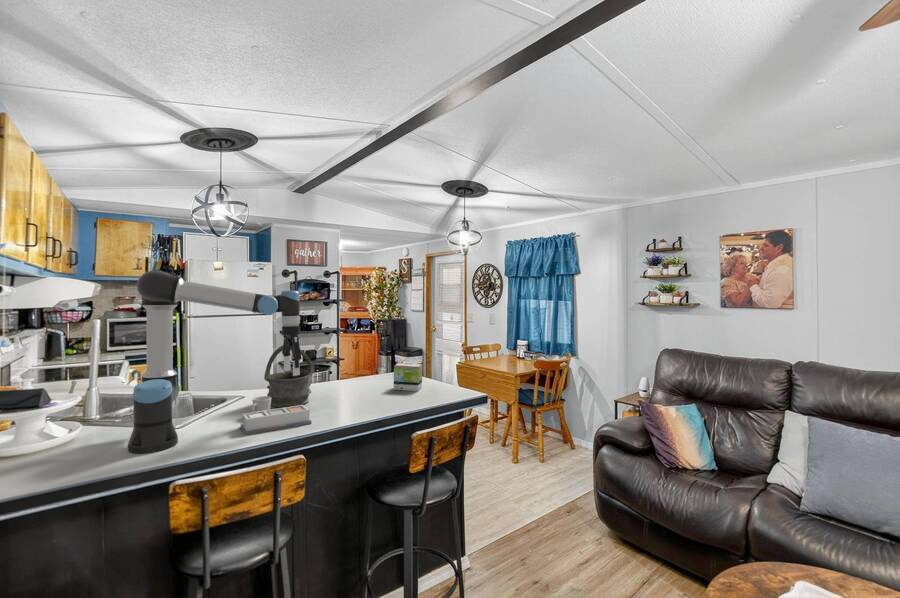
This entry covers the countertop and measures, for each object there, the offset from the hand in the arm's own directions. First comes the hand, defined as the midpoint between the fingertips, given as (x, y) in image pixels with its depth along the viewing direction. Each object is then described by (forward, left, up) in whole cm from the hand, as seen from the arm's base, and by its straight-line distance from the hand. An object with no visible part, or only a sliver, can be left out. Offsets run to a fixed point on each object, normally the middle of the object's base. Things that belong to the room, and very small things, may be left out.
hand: (291, 372), depth 190 cm
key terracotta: (0, -5, -17) cm, 18 cm away
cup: (-11, +13, -21) cm, 27 cm away
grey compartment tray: (-8, -5, -21) cm, 23 cm away
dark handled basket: (+6, +29, -21) cm, 36 cm away
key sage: (-8, -5, -17) cm, 20 cm away
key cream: (-16, -5, -17) cm, 24 cm away
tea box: (+72, +23, -21) cm, 79 cm away
